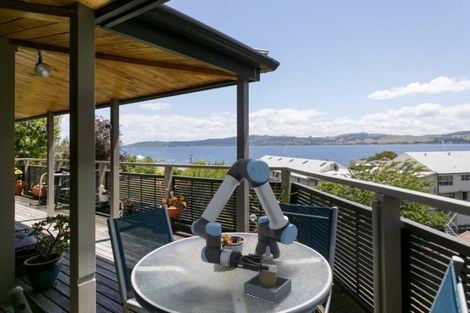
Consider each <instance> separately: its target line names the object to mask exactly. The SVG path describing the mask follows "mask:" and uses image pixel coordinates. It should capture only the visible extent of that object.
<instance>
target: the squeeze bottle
mask: <svg viewBox="0 0 470 313" xmlns="http://www.w3.org/2000/svg"><path fill="white" fill-rule="evenodd" d="M274 259H275V258H273V255H272V254H271V253H270V248H269V247H267V248H266V252H265V254H263V259H261V262H260V263H259V264H261V265H262V264H268V265H274V266H276V265H275V260H274ZM258 274H259V280H260V283H261V286H262V287H263V288H265V289H271V288H274V286H275V283H276V280H277V272H276V273H275V272H270V271H264V270H262V272H258Z"/></svg>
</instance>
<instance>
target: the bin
mask: <svg viewBox="0 0 470 313" xmlns="http://www.w3.org/2000/svg"><path fill="white" fill-rule="evenodd" d="M276 275H277V274H276ZM243 287H244V288H243V290H244V291H243V294H244V293H245V294H244V295H246V294H249V295H252V296H255V297H258V298H261V299H263V300H262V301H264V300H267V301H269V302H268V303H270V302H273V303H276V302H277V303H279V300H280V299H281V298H282V297H283V296H284V297H285V296H286V295H288V294H289V293H290V292H291V291H292V278H288V277H284V276H281V275H277V280H276V283H275V286H274V288H271V289H265V288H263V287H262V286H261V283H260V280H259V273H257V274H256V275H253V276H252V277H251V278H249V279H248V280H247V281H245V282H244V283H243ZM290 290H291V291H290ZM289 291H290V292H289ZM249 295H248V296H249ZM252 296H251V297H252ZM255 297H254V298H255ZM284 297H283V298H284ZM258 298H257V299H258ZM283 298H282V299H283ZM261 299H260V300H261ZM282 299H281V300H282ZM267 301H266V302H267ZM273 303H272V304H273ZM277 303H276V304H277Z"/></svg>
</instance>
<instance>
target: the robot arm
mask: <svg viewBox="0 0 470 313" xmlns="http://www.w3.org/2000/svg"><path fill="white" fill-rule="evenodd" d="M270 173H271V169H270V166H269V164H268V162H267V161H265V160H262V159H260V158H245V157H244V158H239V159H237V160H236V161H235V162H233V164H231V166H230V167H229V168H228V170H227V171H226V173H225V174H224V179H223V181H222V183H221V184H220V186H219V188H218V189H217V191H216V192H215V194H214V196H213V197H212V198H211V200H210V202H208V205H207V206H206V208H205V209H204V212H203V213H202V215H201V216H200V218H199V219H198V220H195V221H194V222H192V224H191V225H190V226H191V228H190V230H191V232H192V234H194V235H195V236H196V237H199V238H201V239H203V240H204V241H205V246H203V247H202V248H201V253H200V259H201V261H202V262H204V263H207V264H208V263H209V264H214V265H219V266H225V267H231V268H235V269H242V270H247V271H253V272H256V273H259V272H262V270H264V271H270V272H275V273H276V274H277V271H278V269H277V268H278V267H282V259H276V258H273V259H274V260H275V265H276V266H274V265H268V264H262V265H261V264H260V262H261V259H263V254H265V252H266V248H267V247H269V248H270V253H271V254H272V255H273V257H275V256H278V255H279V254H280V255H281V250H280V247H279V244H278V243H280V244H282V245H287V246H289V245H292V244H293V243H294V242H295V241H296V238H297V236H298V228H297V226H296V225H295V224H293V223H291V222H290V220H289V218H288V217H287V216H286V215H284V212H283V211H282V209H281V207H280V205H279V202H278V200H277V198H276V196H275V194H274V191H273V189H272V188H271V185H270V183H269V182H270ZM243 181H246V182H247V184H248V186H249V188H250V189H253V190H254V192H255V194H256V196H257V198H258V200H259V202H260V205H261V207H262V209H263V210H264V212H265V215H263V216H259V217H258V219H257V242H256V246H255V250H254V253H248V254H247V255H246V254H244V255H243V254H242V252H241V251H239V250H234V249H227V248H222V233H223V232H222V224H221V223H219V222H216V220H218V219H217V218H218V217H219V215H220V214H221V212H222V210H223V209H224V207H225V205H226V204H227V202H228V201H229V199H230V197H231V195H232V194H233V193H234V191H235V189H236V187H237V186H240V185H241V183H242V182H243ZM255 254H256V255H255ZM278 257H279V256H278Z"/></svg>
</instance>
